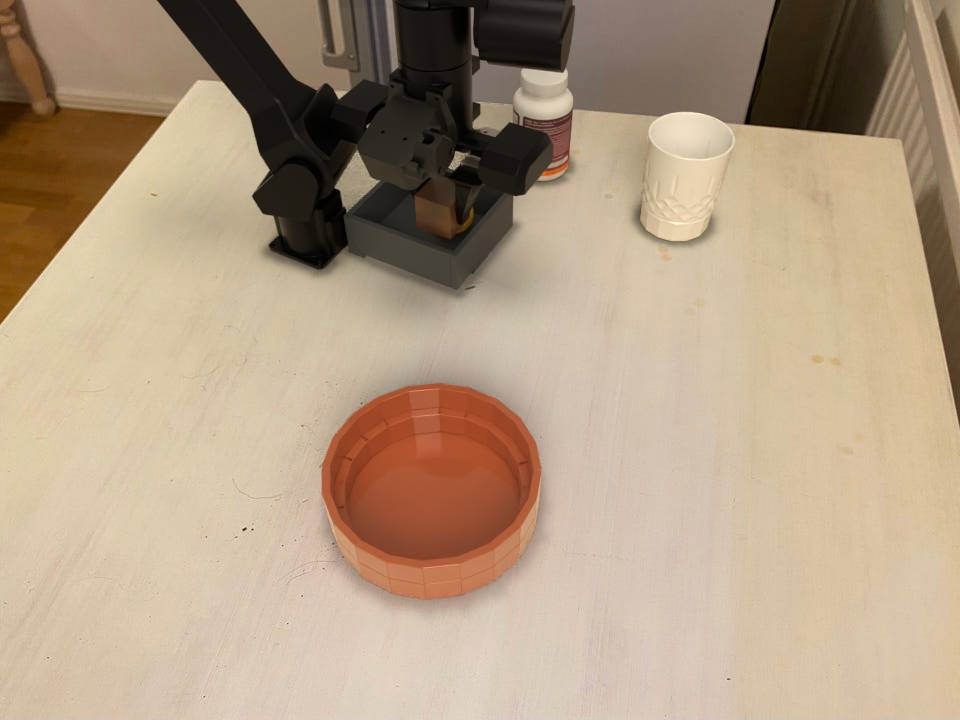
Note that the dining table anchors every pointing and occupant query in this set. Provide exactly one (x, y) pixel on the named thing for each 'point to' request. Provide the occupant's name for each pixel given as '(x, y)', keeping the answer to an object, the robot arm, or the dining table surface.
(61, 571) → the dining table surface
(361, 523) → the bowl
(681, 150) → the white cup
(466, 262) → the bin
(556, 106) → the pill bottle
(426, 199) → the toy block
